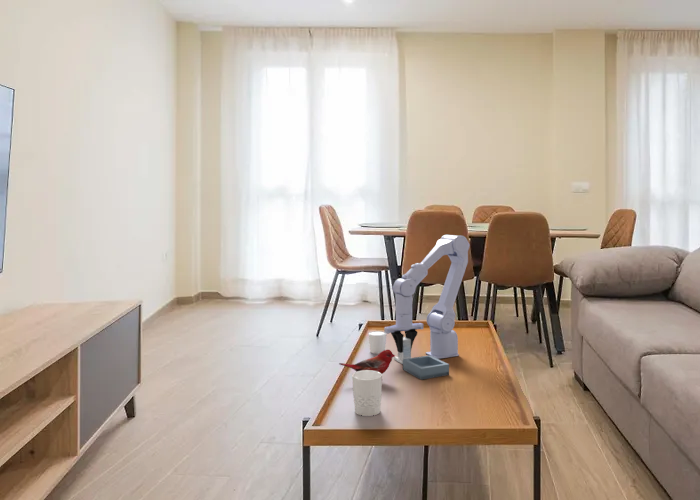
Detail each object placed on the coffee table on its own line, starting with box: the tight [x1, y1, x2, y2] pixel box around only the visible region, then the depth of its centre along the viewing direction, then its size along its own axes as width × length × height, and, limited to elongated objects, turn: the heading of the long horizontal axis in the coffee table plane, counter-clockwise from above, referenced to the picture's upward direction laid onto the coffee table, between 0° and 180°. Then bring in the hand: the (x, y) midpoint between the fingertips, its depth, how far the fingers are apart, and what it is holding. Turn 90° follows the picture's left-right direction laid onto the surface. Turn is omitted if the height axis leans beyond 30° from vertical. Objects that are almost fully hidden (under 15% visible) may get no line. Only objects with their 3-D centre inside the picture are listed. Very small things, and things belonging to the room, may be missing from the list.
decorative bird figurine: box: [338, 349, 396, 375], centre depth 159 cm, size 3×18×10 cm, turn 94°
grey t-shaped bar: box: [393, 336, 412, 365], centre depth 180 cm, size 5×6×8 cm
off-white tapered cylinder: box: [368, 330, 387, 354], centre depth 193 cm, size 7×7×7 cm
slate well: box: [402, 354, 450, 381], centre depth 168 cm, size 10×11×4 cm
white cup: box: [351, 370, 383, 417], centre depth 136 cm, size 8×8×10 cm
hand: (404, 351), depth 180 cm, fingers closed on grey t-shaped bar, 3 cm apart
